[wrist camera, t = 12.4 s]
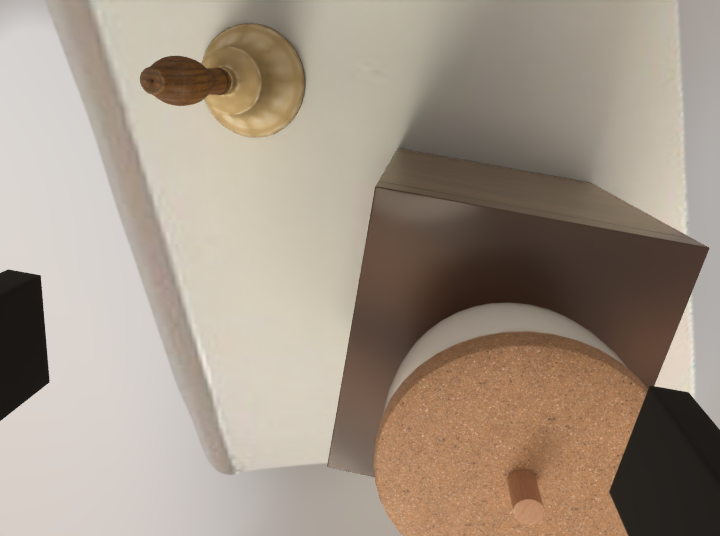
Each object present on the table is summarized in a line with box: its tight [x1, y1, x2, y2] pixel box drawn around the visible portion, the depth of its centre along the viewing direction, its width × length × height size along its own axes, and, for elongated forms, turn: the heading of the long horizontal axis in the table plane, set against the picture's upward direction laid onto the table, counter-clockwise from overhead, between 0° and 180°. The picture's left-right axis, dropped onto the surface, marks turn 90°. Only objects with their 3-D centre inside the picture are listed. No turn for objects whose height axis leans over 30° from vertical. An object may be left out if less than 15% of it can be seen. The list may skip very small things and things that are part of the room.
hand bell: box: [140, 24, 305, 137], centre depth 33 cm, size 8×8×16 cm
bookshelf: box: [327, 148, 709, 477], centre depth 35 cm, size 16×15×18 cm
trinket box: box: [374, 303, 648, 536], centre depth 22 cm, size 11×11×9 cm
